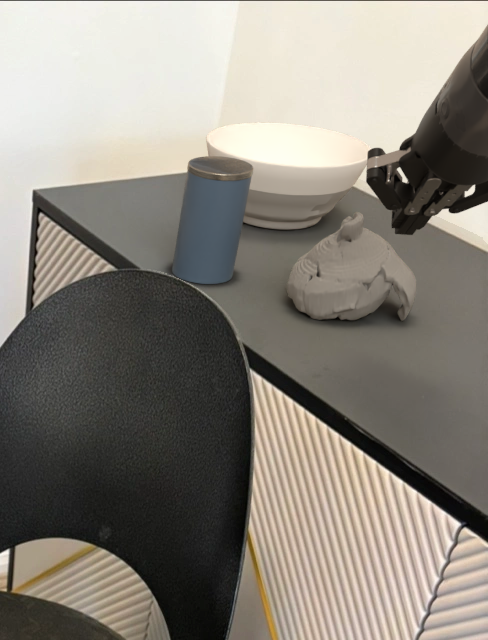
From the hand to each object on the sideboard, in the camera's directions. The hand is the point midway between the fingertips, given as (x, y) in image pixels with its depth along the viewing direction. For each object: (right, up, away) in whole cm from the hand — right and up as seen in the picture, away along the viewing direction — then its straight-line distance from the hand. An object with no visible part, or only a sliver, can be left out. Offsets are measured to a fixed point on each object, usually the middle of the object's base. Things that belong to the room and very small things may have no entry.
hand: (403, 224), depth 99 cm
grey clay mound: (+1, -2, +17) cm, 17 cm away
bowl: (0, +18, +39) cm, 43 cm away
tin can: (-13, +5, +23) cm, 27 cm away
